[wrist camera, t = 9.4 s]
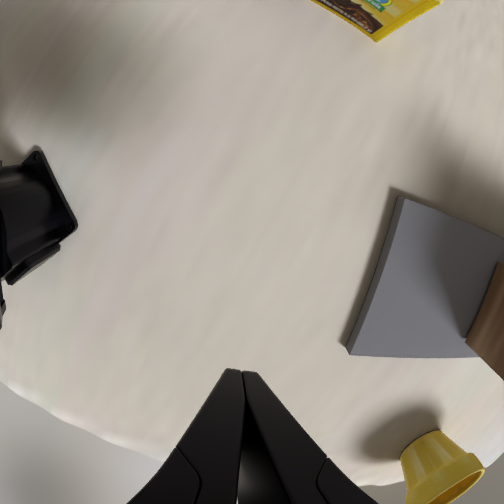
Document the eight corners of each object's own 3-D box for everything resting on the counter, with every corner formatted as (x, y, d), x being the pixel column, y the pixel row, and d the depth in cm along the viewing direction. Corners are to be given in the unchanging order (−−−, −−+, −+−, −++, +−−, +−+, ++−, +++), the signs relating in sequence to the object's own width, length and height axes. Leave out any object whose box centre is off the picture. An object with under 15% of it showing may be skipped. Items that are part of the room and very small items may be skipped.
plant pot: (464, 420, 28) (496, 465, 19) (417, 466, 31) (439, 512, 22) (427, 416, 26) (463, 474, 17) (372, 468, 29) (395, 524, 20)
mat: (345, 347, 22) (349, 355, 21) (397, 196, 19) (405, 198, 18) (508, 350, 25) (512, 354, 24) (545, 260, 22) (551, 263, 21)
